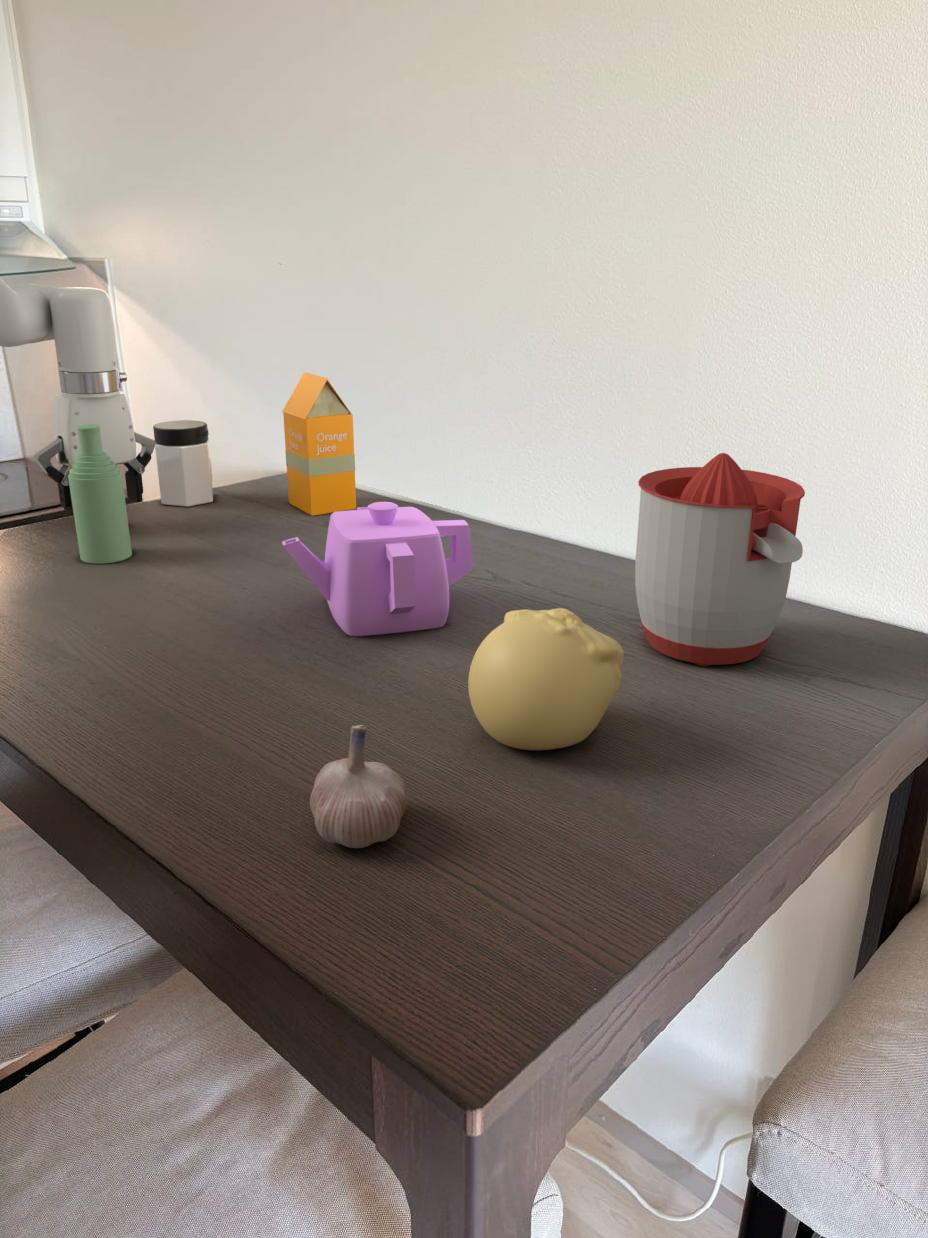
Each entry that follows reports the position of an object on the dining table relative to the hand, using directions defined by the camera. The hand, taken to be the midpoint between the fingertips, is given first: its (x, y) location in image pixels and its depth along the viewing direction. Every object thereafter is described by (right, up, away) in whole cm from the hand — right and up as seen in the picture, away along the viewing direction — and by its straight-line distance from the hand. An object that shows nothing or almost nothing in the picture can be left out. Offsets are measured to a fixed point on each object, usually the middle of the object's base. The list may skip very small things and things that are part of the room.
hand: (103, 505), depth 136 cm
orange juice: (+29, +1, +13) cm, 32 cm away
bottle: (+5, -8, -11) cm, 15 cm away
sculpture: (+58, -26, -55) cm, 84 cm away
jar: (+7, +3, +16) cm, 18 cm away
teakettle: (+42, -15, -29) cm, 53 cm away
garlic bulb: (+44, -31, -69) cm, 87 cm away
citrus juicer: (+77, -19, -39) cm, 88 cm away
